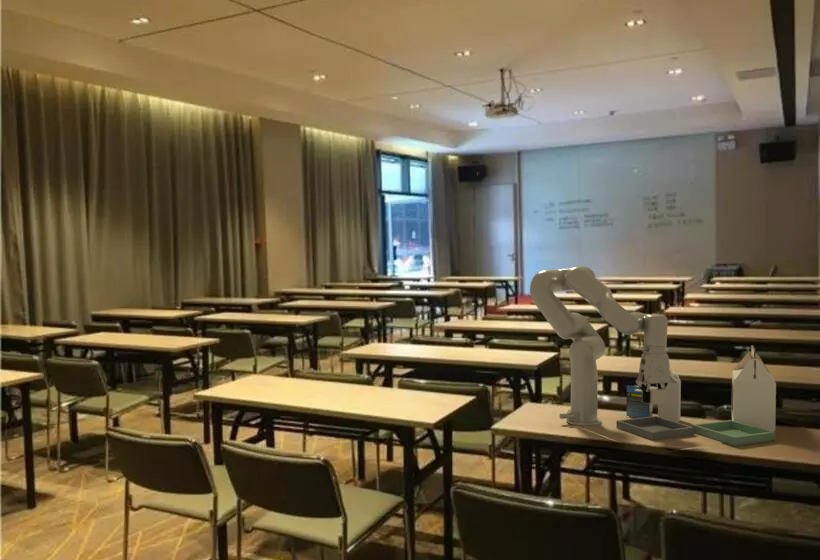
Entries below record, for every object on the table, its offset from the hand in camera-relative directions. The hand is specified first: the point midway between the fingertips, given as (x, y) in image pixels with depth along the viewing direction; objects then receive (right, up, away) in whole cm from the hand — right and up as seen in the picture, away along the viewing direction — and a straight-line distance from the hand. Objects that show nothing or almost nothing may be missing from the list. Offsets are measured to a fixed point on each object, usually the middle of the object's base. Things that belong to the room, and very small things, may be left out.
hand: (652, 401), depth 235 cm
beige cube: (0, 0, 0) cm, 0 cm away
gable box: (+41, -11, +13) cm, 44 cm away
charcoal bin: (+1, -11, 0) cm, 11 cm away
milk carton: (+12, -11, +17) cm, 23 cm away
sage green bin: (+25, -11, -6) cm, 28 cm away
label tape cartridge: (+3, -10, +21) cm, 24 cm away
